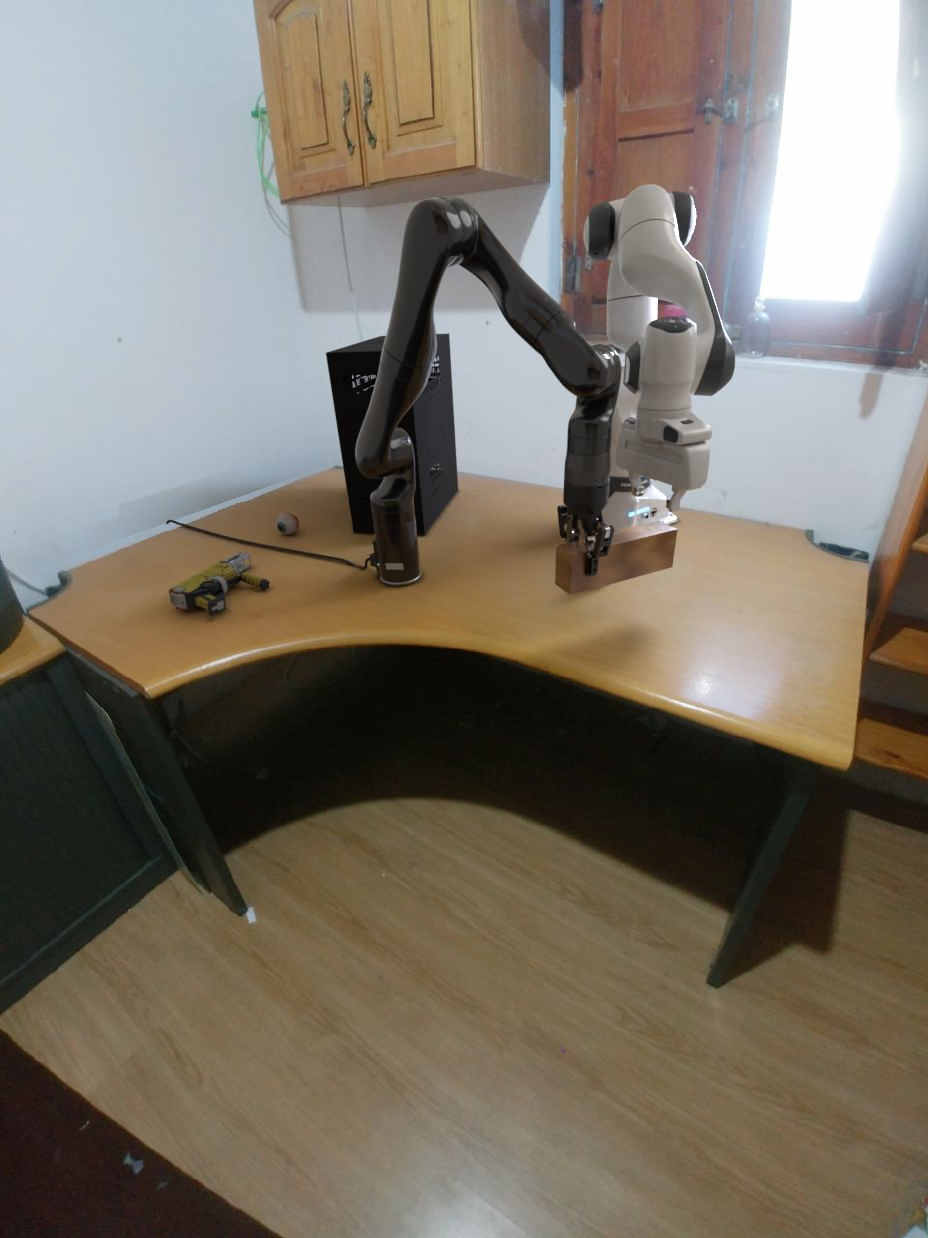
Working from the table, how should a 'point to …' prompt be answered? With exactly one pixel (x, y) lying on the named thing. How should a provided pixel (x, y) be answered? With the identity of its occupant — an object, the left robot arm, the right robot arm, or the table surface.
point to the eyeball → (287, 523)
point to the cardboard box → (422, 422)
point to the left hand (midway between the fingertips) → (581, 568)
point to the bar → (617, 557)
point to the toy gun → (214, 585)
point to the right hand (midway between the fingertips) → (654, 502)
